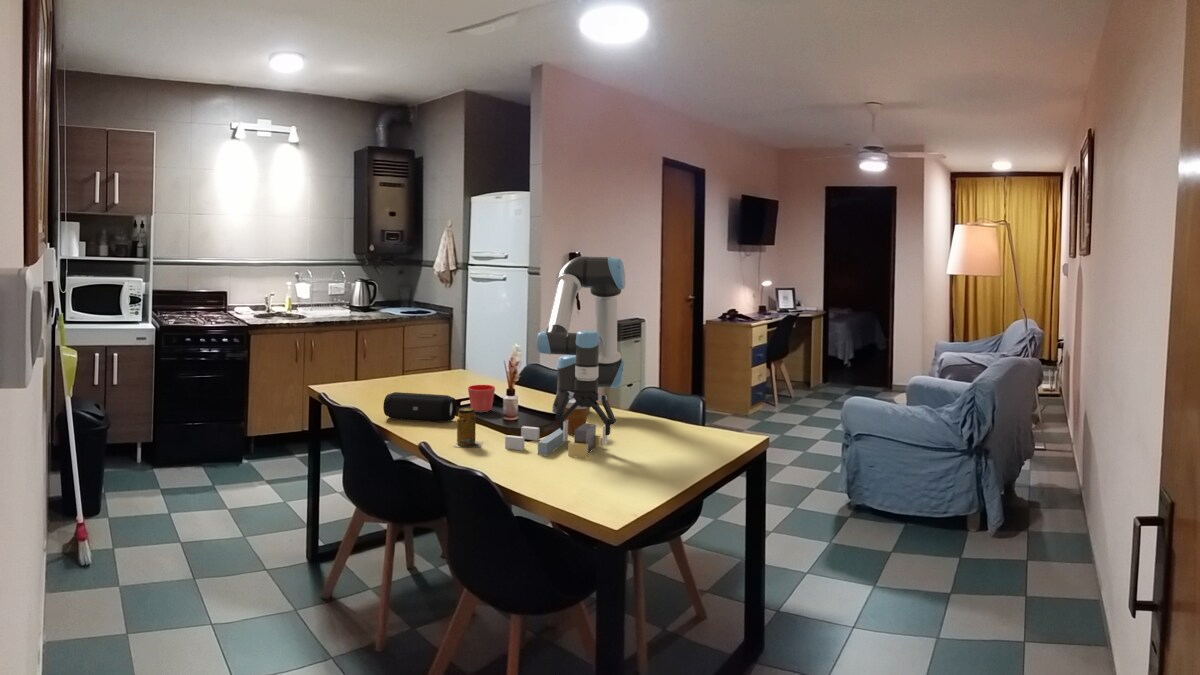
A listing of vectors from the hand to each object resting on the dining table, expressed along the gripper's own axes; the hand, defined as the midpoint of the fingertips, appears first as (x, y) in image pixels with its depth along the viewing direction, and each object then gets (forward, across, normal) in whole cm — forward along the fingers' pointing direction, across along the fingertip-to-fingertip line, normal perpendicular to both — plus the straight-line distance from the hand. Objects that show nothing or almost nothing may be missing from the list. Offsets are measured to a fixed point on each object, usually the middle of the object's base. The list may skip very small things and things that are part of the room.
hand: (584, 442), depth 247 cm
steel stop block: (+3, 0, 0) cm, 3 cm away
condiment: (+3, -38, -8) cm, 39 cm away
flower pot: (+3, -56, +38) cm, 68 cm away
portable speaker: (+3, -70, +15) cm, 72 cm away
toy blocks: (+3, -11, 0) cm, 11 cm away
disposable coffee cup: (+3, -10, +20) cm, 22 cm away
